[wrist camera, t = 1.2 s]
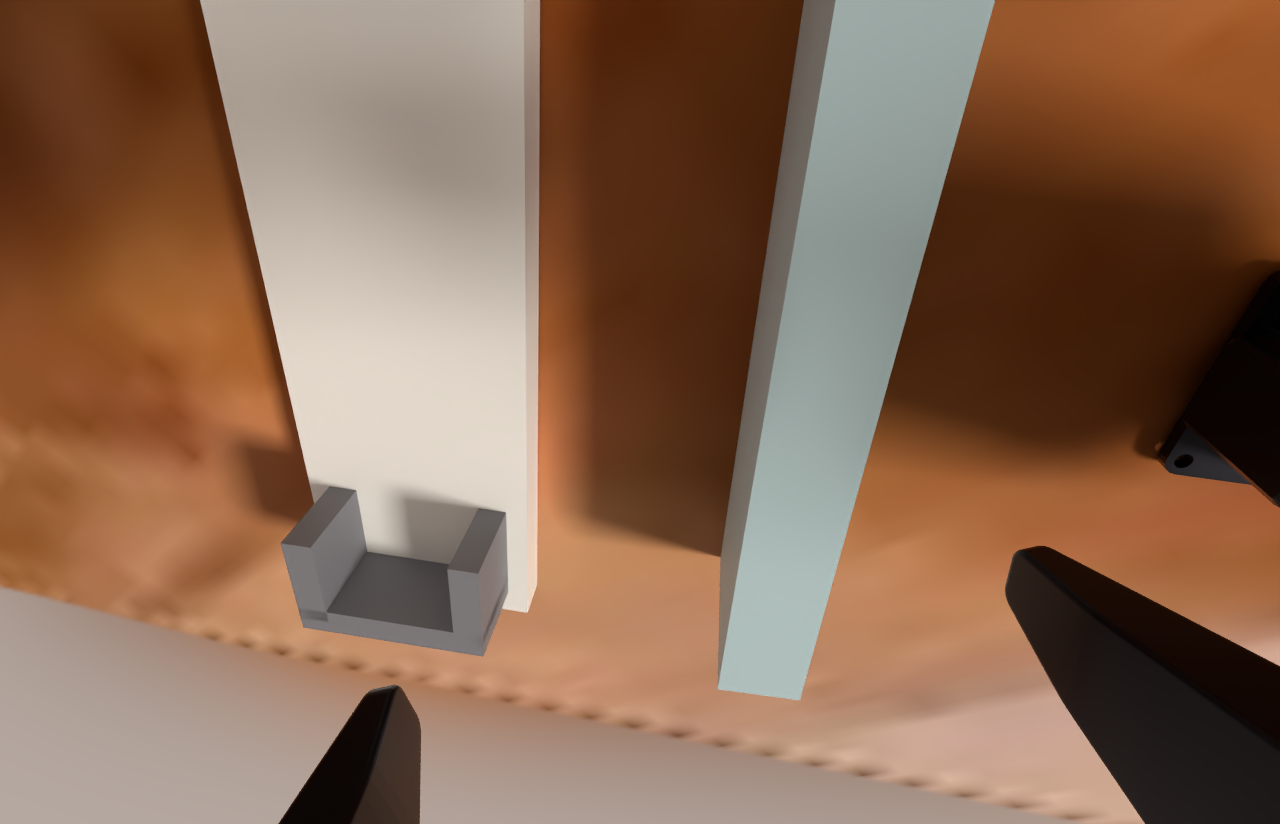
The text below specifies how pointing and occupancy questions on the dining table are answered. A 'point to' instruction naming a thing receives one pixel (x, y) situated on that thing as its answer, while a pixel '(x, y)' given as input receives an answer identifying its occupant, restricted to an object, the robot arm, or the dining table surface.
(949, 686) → the dining table surface
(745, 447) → the slat
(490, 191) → the endcap stand
